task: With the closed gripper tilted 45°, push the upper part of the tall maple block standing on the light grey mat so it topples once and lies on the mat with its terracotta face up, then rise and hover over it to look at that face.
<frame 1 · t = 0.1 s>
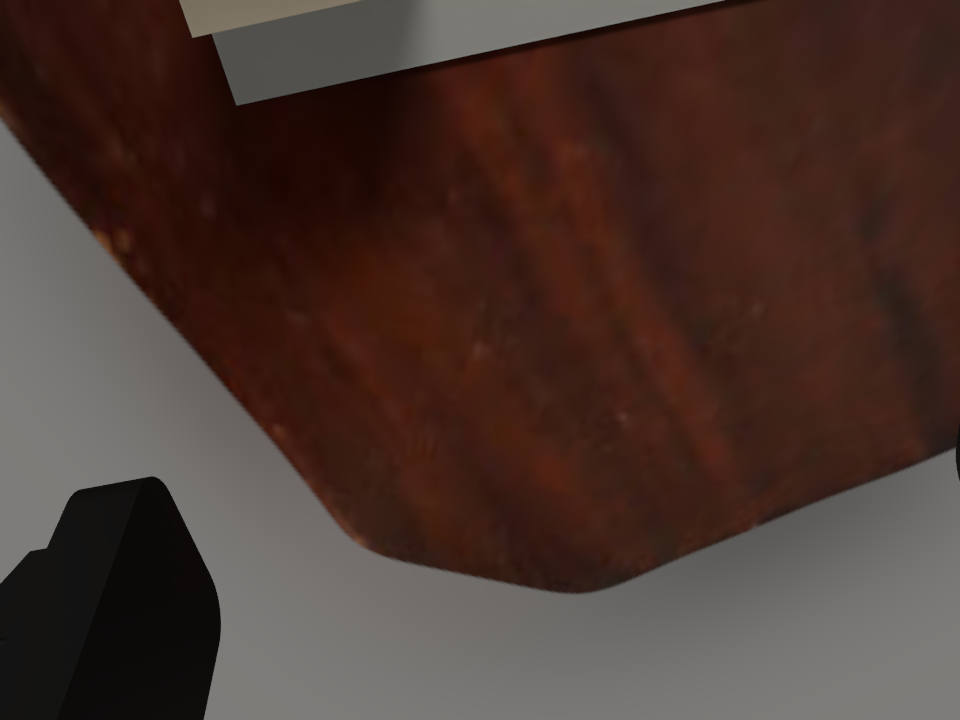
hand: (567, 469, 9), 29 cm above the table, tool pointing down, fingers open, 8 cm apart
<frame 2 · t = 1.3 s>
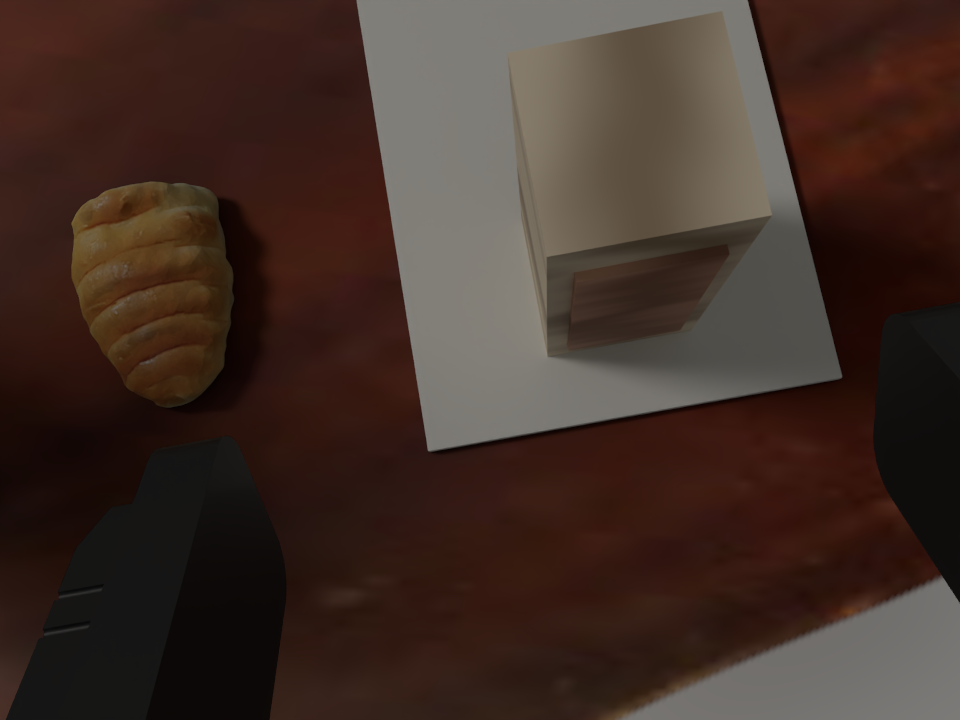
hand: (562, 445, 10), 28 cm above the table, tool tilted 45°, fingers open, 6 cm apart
grey mat: (573, 126, 40), on the table
pastry: (174, 290, 41), on the table
maple block: (604, 274, 39), resting on grey mat
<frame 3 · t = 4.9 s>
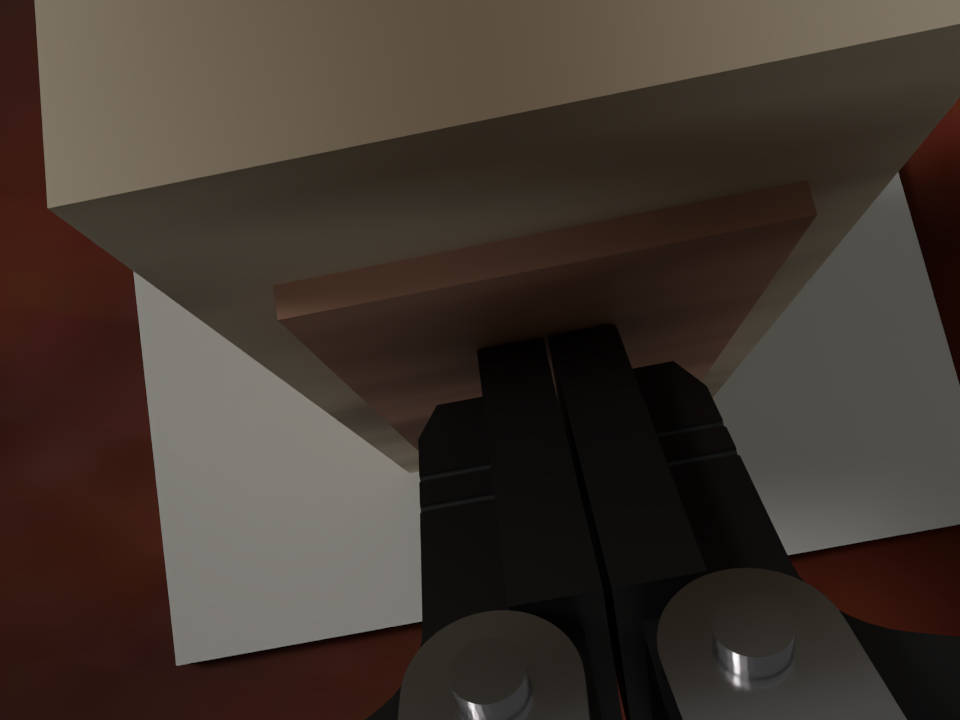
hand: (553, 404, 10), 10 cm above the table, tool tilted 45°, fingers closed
grey mat: (470, 35, 22), on the table
maple block: (524, 310, 20), point 1 cm above the table, touching grey mat, gripper
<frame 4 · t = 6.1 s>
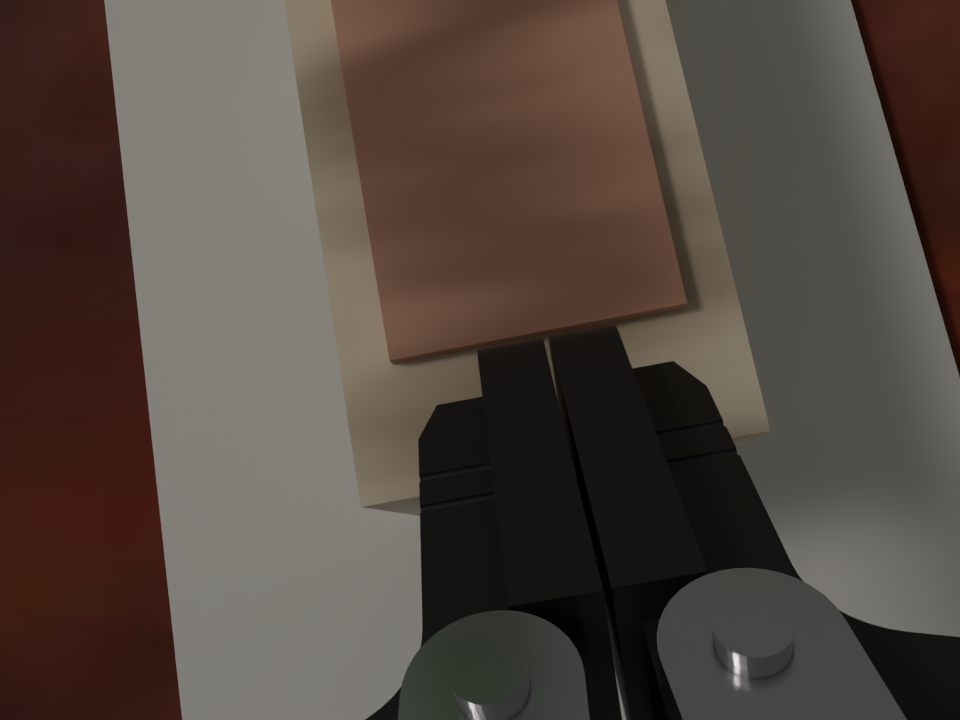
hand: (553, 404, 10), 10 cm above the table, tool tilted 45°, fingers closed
grey mat: (525, 313, 20), on the table
maple block: (561, 481, 16), point 3 cm above the table, tilted 90°, touching grey mat
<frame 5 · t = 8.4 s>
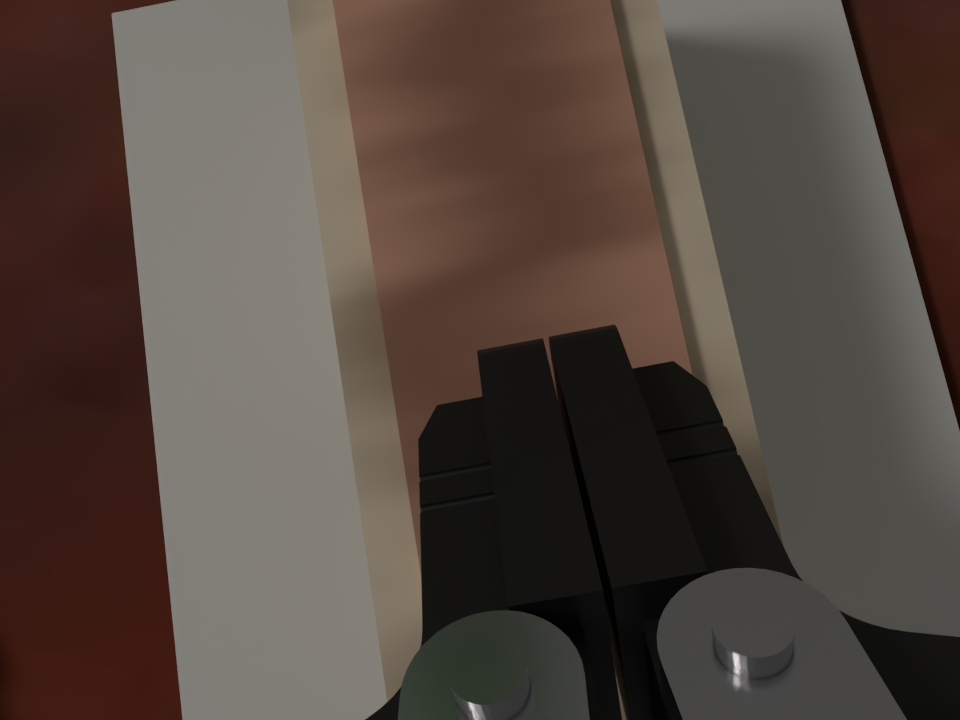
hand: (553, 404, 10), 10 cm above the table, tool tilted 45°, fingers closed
grey mat: (552, 482, 20), on the table
maple block: (595, 699, 16), point 3 cm above the table, tilted 90°, touching grey mat
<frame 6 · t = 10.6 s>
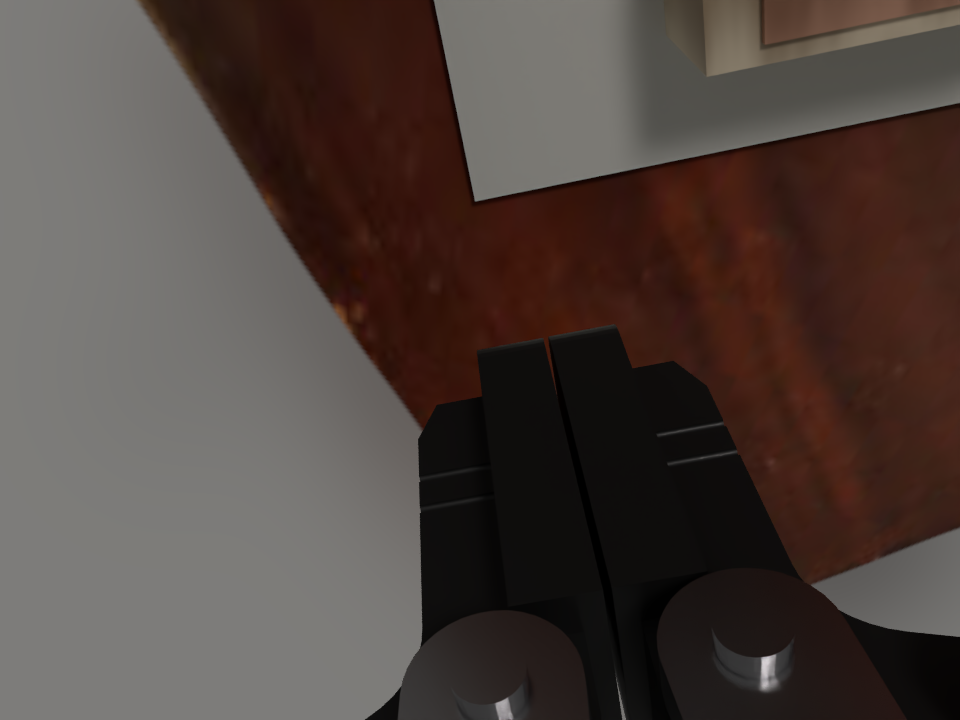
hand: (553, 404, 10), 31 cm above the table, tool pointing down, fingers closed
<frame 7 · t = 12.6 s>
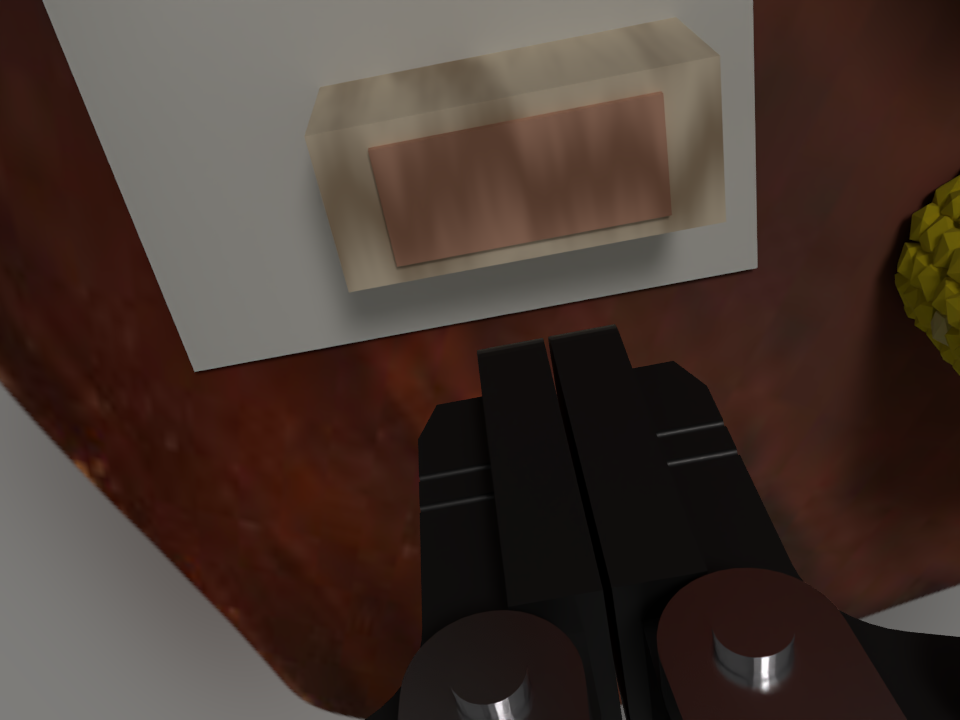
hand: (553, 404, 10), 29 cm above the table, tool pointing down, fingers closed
grey mat: (434, 137, 38), on the table
maple block: (334, 186, 35), point 3 cm above the table, tilted 90°, touching grey mat
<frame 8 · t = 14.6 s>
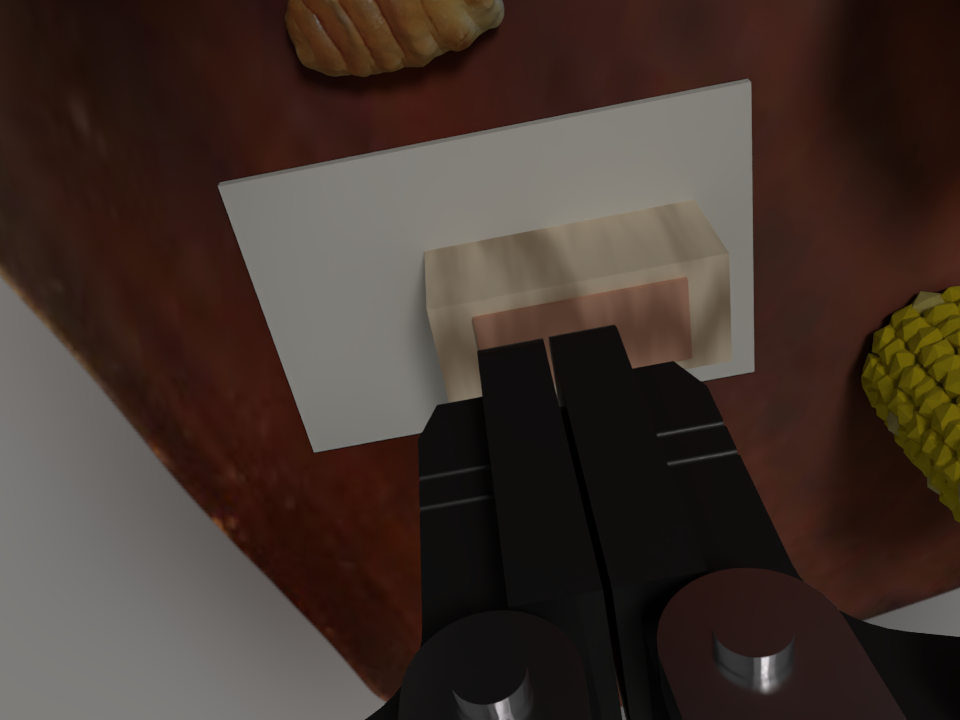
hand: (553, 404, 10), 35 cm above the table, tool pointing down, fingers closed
grey mat: (508, 282, 49), on the table
food: (936, 350, 54), on the table
maple block: (437, 330, 46), point 3 cm above the table, tilted 90°, touching grey mat
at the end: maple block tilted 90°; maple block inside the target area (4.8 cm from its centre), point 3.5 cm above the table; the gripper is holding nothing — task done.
